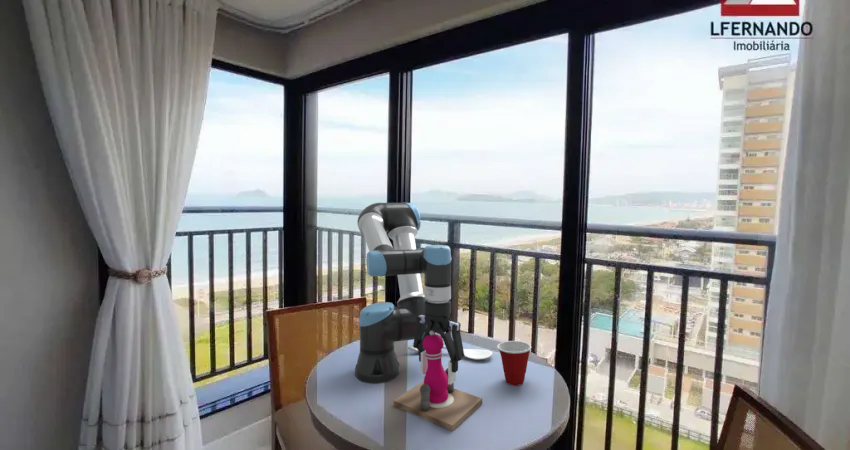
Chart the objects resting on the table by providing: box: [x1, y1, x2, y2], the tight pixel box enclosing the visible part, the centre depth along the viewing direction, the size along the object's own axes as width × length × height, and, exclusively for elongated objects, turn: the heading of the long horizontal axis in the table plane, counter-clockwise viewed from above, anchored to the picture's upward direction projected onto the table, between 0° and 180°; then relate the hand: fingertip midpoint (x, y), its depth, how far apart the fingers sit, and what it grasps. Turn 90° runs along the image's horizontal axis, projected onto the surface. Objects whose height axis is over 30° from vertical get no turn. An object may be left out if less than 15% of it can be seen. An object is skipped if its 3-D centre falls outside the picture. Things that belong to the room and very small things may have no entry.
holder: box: [392, 367, 483, 432], centre depth 104 cm, size 20×16×8 cm
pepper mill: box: [423, 330, 449, 403], centre depth 104 cm, size 7×7×20 cm
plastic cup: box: [496, 340, 532, 386], centre depth 117 cm, size 11×11×12 cm
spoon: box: [407, 344, 493, 361], centre depth 139 cm, size 9×32×4 cm, turn 73°
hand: (437, 377), depth 104 cm, fingers open, 9 cm apart
